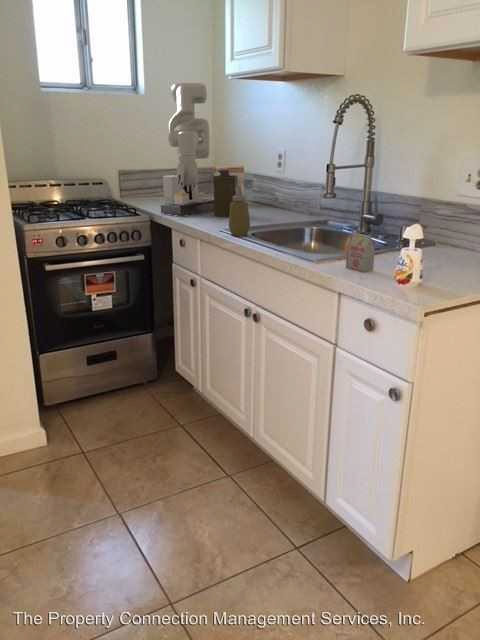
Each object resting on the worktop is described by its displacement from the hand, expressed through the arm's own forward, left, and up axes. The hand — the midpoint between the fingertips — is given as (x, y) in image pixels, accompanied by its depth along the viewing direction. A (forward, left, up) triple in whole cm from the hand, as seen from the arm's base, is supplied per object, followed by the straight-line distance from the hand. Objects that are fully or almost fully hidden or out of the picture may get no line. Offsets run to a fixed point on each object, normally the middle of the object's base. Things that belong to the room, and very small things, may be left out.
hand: (188, 199), depth 258 cm
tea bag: (+42, +119, -6) cm, 126 cm away
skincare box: (-6, -19, -6) cm, 21 cm away
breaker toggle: (+5, 0, -2) cm, 5 cm away
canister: (-4, +20, -6) cm, 22 cm away
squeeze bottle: (+27, +58, -6) cm, 64 cm away
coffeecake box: (-30, -3, -6) cm, 31 cm away
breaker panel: (0, 0, -6) cm, 6 cm away
